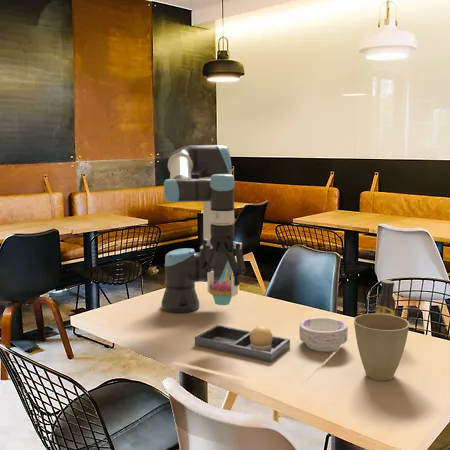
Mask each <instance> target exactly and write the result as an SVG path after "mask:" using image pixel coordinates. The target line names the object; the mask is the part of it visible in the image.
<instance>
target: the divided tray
mask: <svg viewBox="0 0 450 450" xmlns="http://www.w3.org/2000/svg"><path fill="white" fill-rule="evenodd" d="M251 331H252V330H251ZM251 331H250V330H245V329H241V328H235V327H231V326H226V325H225V326H224V325H220V324H216V325H214V326H212V327H211V328H209V329H207V330H206V331H204V332H202V333H200V334H199V335H197V336H195V337H194V347H198V348H204V349H208V350H212V351H217V352H221V353H225V354H230V355H235V356H239V357H245V358H249V359H253V360H257V361H261V362H266V363H271V364H272V362H274V361H275V360H276V359H278V358H279V357H281V355H282V354H284V353H285V352H286V351H287V350H289V349H290V348H291V339H290V338H286V337H281V336H276V335H273V340H272V343H271V351H270V352H267V351H262V350H257V349H253V348H251V342H250V333H251Z"/></svg>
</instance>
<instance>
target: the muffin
mask: <svg viewBox="0 0 450 450" xmlns="http://www.w3.org/2000/svg"><path fill="white" fill-rule="evenodd" d="M273 336H274V335H273V332H272V331H271V329H269V328H268V327H267V326H264V325H258V326H256V327H253V329H251V333H250V342H251V348H253V349H257V350H262V351H267V352H270V351H271V343H272V340H273Z"/></svg>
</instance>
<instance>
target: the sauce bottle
mask: <svg viewBox="0 0 450 450" xmlns="http://www.w3.org/2000/svg"><path fill="white" fill-rule="evenodd" d="M380 285H381V291H380V295H379V297H378V299H377V301H376V305H375V314H388V315H393V316H396V305H397V304H396V300H395V298H394V287H395V281H393V280H389V279H383V280H381V284H380Z"/></svg>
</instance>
